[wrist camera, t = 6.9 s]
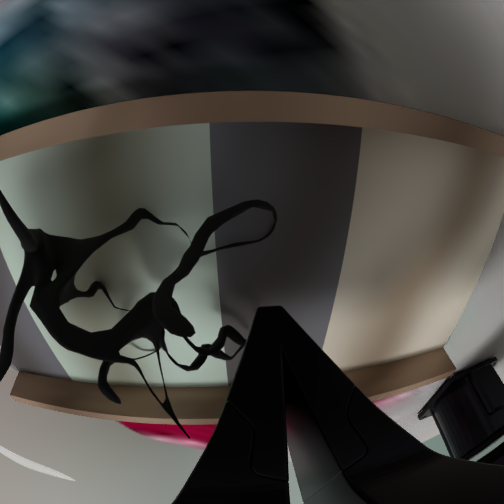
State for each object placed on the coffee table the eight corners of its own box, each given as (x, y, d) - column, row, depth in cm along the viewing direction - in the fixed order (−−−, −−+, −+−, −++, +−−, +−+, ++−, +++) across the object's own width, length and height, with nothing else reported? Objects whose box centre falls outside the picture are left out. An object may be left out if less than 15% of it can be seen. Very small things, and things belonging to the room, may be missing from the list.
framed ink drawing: (514, 141, 7) (548, 157, 6) (436, 350, 14) (451, 375, 12) (-70, 169, 5) (-100, 189, 4) (25, 374, 12) (15, 400, 10)
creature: (315, 227, 10) (95, 79, 5) (405, 361, 6) (-52, 176, 1) (185, 352, 12) (11, 291, 8) (209, 467, 8) (-19, 432, 4)
